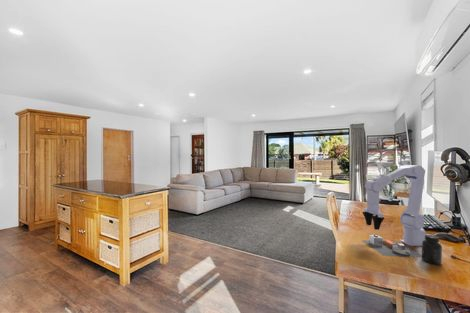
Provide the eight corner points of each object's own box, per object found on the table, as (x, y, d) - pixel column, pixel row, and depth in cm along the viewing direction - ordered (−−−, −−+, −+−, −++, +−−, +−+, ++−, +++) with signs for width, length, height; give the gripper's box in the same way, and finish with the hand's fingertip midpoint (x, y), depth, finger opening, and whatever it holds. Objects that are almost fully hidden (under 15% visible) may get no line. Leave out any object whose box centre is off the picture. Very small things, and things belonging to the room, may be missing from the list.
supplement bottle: (417, 259, 103) (417, 233, 103) (431, 258, 103) (431, 233, 104) (432, 266, 96) (432, 238, 96) (446, 265, 97) (446, 238, 97)
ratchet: (390, 242, 122) (390, 235, 122) (413, 256, 105) (413, 247, 105) (377, 242, 122) (377, 234, 122) (398, 255, 105) (398, 247, 105)
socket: (377, 243, 121) (377, 234, 121) (382, 246, 117) (382, 236, 117) (369, 242, 121) (369, 233, 122) (373, 246, 117) (373, 236, 117)
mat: (397, 242, 124) (397, 241, 124) (426, 258, 104) (426, 257, 104) (361, 240, 125) (361, 240, 125) (383, 256, 105) (383, 255, 105)
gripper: (358, 199, 128) (358, 223, 128) (372, 205, 113) (372, 231, 113) (371, 200, 128) (371, 223, 127) (387, 205, 113) (386, 231, 113)
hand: (372, 227), depth 120 cm, fingers open, 7 cm apart
